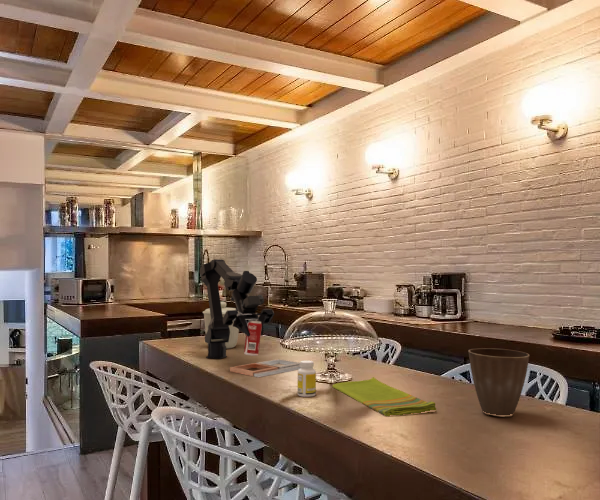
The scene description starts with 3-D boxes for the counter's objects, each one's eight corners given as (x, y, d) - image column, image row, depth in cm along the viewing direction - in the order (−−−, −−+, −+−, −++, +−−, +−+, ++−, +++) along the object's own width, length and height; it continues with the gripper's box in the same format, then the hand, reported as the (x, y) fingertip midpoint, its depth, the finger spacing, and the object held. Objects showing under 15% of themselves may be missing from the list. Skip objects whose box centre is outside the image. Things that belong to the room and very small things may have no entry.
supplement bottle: (318, 393, 164) (318, 360, 164) (312, 398, 159) (312, 363, 159) (300, 392, 165) (301, 359, 166) (294, 396, 160) (295, 362, 161)
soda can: (247, 353, 200) (251, 320, 201) (260, 355, 198) (264, 321, 199) (241, 353, 195) (245, 320, 196) (254, 356, 193) (259, 321, 195)
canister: (239, 350, 244) (239, 303, 245) (198, 350, 245) (199, 302, 245) (243, 345, 263) (244, 300, 263) (205, 344, 263) (206, 300, 263)
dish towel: (385, 419, 139) (385, 406, 139) (331, 389, 173) (331, 378, 173) (438, 414, 144) (438, 402, 144) (375, 386, 178) (375, 376, 178)
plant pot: (501, 405, 153) (501, 347, 154) (542, 419, 139) (542, 355, 140) (456, 409, 148) (456, 349, 148) (494, 424, 134) (494, 358, 134)
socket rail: (258, 377, 187) (258, 372, 187) (229, 371, 197) (229, 367, 197) (306, 367, 205) (306, 363, 206) (278, 362, 215) (278, 359, 215)
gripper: (226, 287, 196) (239, 322, 187) (272, 287, 206) (286, 319, 197) (217, 308, 203) (229, 342, 193) (262, 306, 213) (275, 339, 203)
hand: (255, 335), depth 196 cm, fingers closed on soda can, 5 cm apart
